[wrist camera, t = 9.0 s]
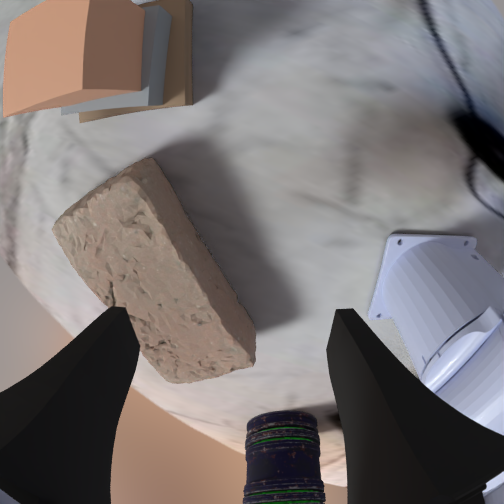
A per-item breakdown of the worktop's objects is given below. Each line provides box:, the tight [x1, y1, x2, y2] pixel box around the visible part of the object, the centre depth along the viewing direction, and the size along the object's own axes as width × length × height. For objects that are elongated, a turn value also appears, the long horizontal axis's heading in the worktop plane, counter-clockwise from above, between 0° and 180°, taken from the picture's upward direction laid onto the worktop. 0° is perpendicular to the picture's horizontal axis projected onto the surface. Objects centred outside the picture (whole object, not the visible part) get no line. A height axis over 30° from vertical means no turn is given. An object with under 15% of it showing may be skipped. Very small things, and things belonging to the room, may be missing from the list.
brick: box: [52, 158, 256, 384], centre depth 19 cm, size 17×8×5 cm, turn 25°
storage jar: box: [243, 411, 326, 504], centre depth 26 cm, size 10×10×15 cm
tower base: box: [79, 0, 193, 123], centre depth 13 cm, size 7×7×2 cm
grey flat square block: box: [61, 5, 172, 115], centre depth 11 cm, size 6×6×2 cm
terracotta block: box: [3, 0, 145, 118], centre depth 8 cm, size 4×4×5 cm
